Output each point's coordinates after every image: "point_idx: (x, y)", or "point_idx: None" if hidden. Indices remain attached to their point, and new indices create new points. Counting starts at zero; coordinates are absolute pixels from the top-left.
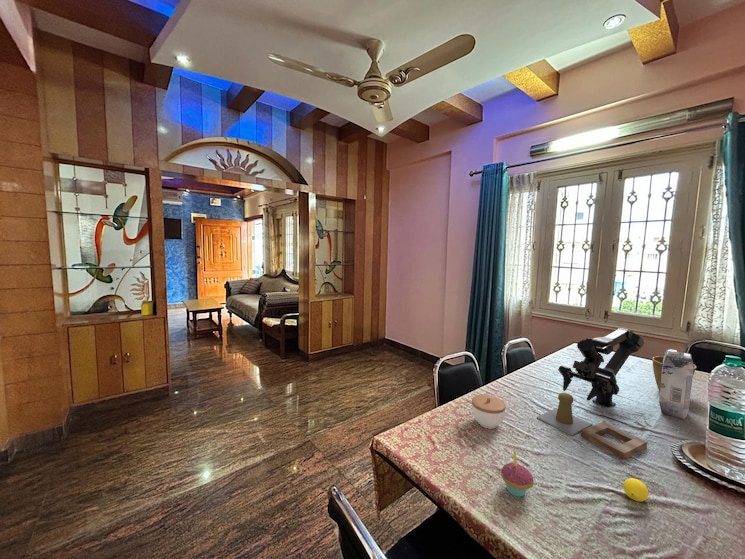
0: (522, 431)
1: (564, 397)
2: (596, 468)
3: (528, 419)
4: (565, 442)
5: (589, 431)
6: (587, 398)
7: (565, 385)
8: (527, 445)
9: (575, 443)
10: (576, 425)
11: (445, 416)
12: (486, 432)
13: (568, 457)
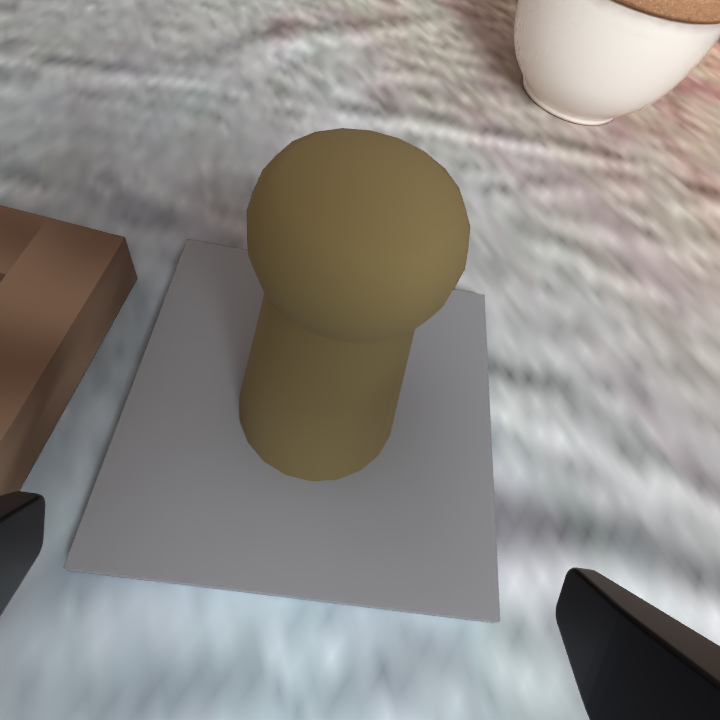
0: (429, 125)
1: (351, 132)
2: (4, 58)
3: (497, 250)
4: (206, 161)
5: (52, 266)
6: (18, 499)
7: (656, 638)
8: (343, 51)
9: (150, 185)
10: (200, 396)
11: None
12: (514, 45)
13: (153, 64)
